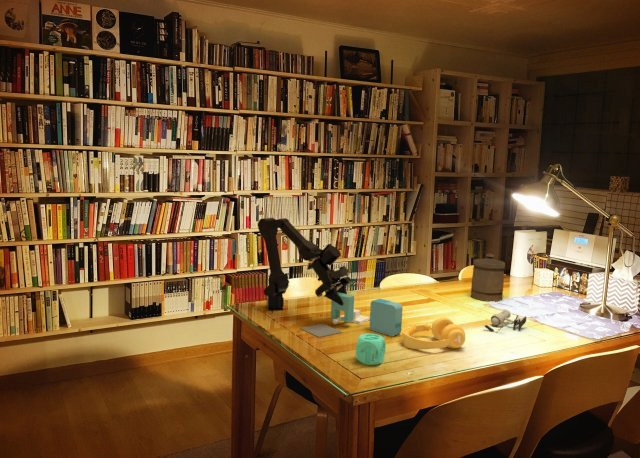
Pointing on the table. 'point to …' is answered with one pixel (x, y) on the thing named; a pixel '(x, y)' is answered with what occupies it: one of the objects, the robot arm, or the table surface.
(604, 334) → the table surface
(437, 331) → the headset
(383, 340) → the decorative dice
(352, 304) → the teal arch block
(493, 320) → the clip-on lamp
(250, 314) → the table surface
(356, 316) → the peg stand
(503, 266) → the wooden container
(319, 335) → the grey mat
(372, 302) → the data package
